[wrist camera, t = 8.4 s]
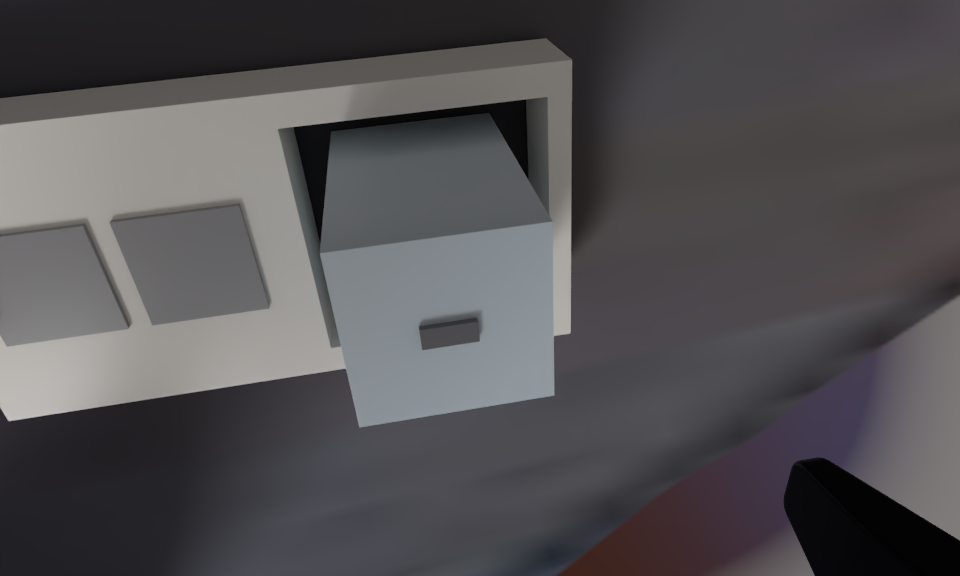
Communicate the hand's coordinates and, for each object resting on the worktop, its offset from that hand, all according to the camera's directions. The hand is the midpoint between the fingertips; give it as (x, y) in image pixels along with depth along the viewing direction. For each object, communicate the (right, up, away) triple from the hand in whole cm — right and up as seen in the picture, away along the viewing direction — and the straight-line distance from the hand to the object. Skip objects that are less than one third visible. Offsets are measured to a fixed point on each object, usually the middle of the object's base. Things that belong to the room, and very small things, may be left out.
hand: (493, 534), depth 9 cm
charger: (-2, +6, +10) cm, 12 cm away
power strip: (-6, +6, +10) cm, 13 cm away
